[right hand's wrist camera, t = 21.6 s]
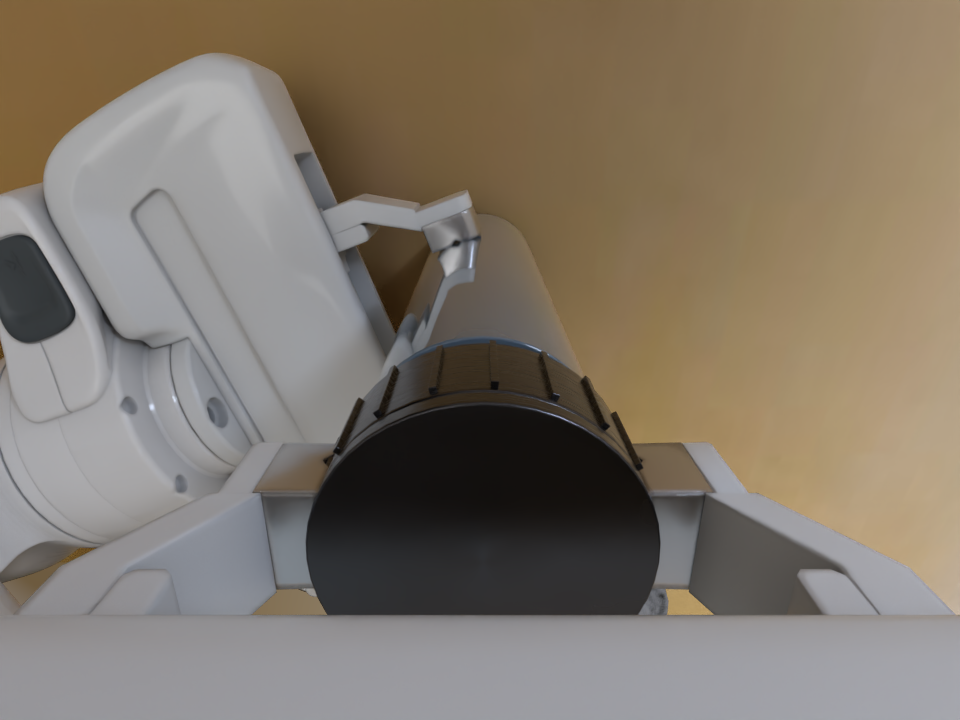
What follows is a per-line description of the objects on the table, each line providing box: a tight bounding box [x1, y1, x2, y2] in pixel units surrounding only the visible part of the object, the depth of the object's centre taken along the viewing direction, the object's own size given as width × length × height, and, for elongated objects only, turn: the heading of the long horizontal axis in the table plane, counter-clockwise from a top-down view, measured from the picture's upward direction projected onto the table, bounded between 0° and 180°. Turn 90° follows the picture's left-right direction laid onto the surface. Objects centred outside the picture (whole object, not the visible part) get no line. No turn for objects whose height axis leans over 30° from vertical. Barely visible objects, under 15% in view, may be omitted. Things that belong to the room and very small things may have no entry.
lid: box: [305, 340, 661, 615], centre depth 9 cm, size 5×5×2 cm
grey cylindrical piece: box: [376, 214, 584, 384], centre depth 18 cm, size 5×5×18 cm
